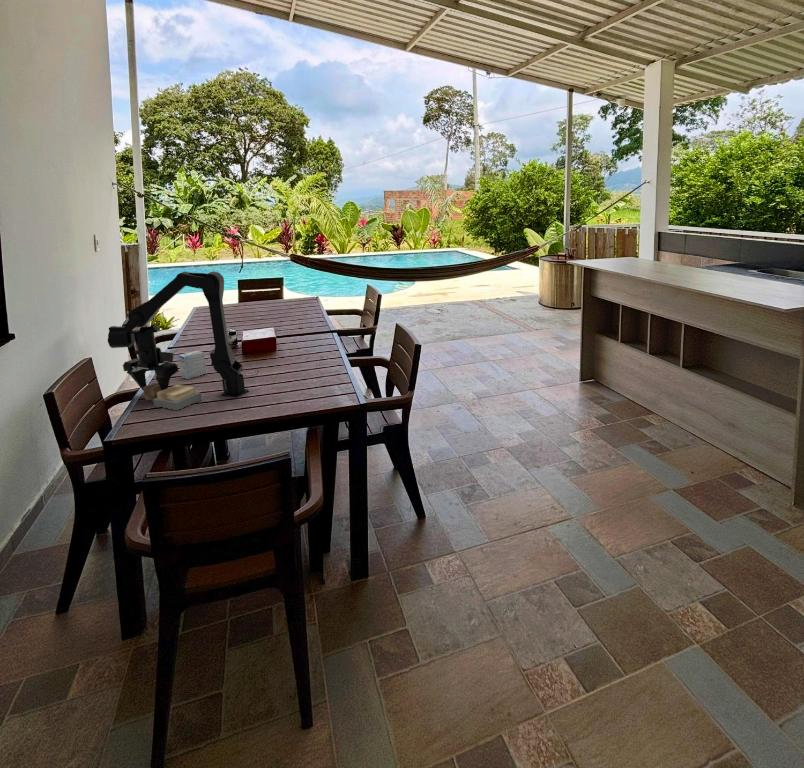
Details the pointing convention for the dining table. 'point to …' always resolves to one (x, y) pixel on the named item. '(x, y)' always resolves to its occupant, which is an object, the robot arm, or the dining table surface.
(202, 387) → the dining table surface
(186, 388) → the oak block
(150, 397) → the walnut cube
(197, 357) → the medicine box
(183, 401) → the slate slab
